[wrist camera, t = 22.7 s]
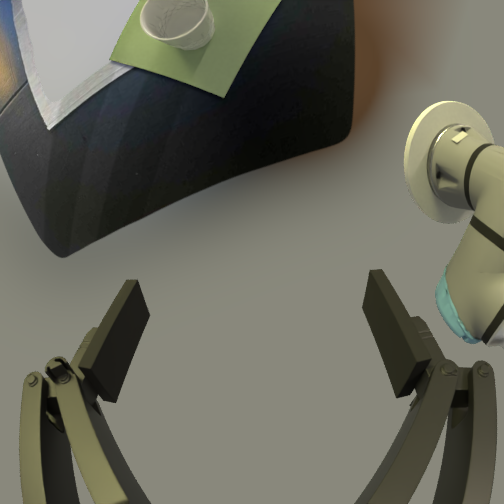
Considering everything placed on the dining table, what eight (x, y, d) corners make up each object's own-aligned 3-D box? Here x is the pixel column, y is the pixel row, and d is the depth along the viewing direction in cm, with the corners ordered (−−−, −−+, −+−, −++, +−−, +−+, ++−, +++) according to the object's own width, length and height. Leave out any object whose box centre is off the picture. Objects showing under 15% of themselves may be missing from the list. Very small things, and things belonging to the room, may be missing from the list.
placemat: (281, 0, 27) (281, 0, 27) (224, 98, 35) (223, 98, 35) (161, -33, 23) (161, -33, 23) (109, 59, 31) (109, 59, 31)
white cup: (156, 44, 30) (127, 30, 22) (183, 2, 27) (162, -22, 18) (201, 62, 32) (184, 49, 23) (229, 19, 29) (221, -5, 20)
